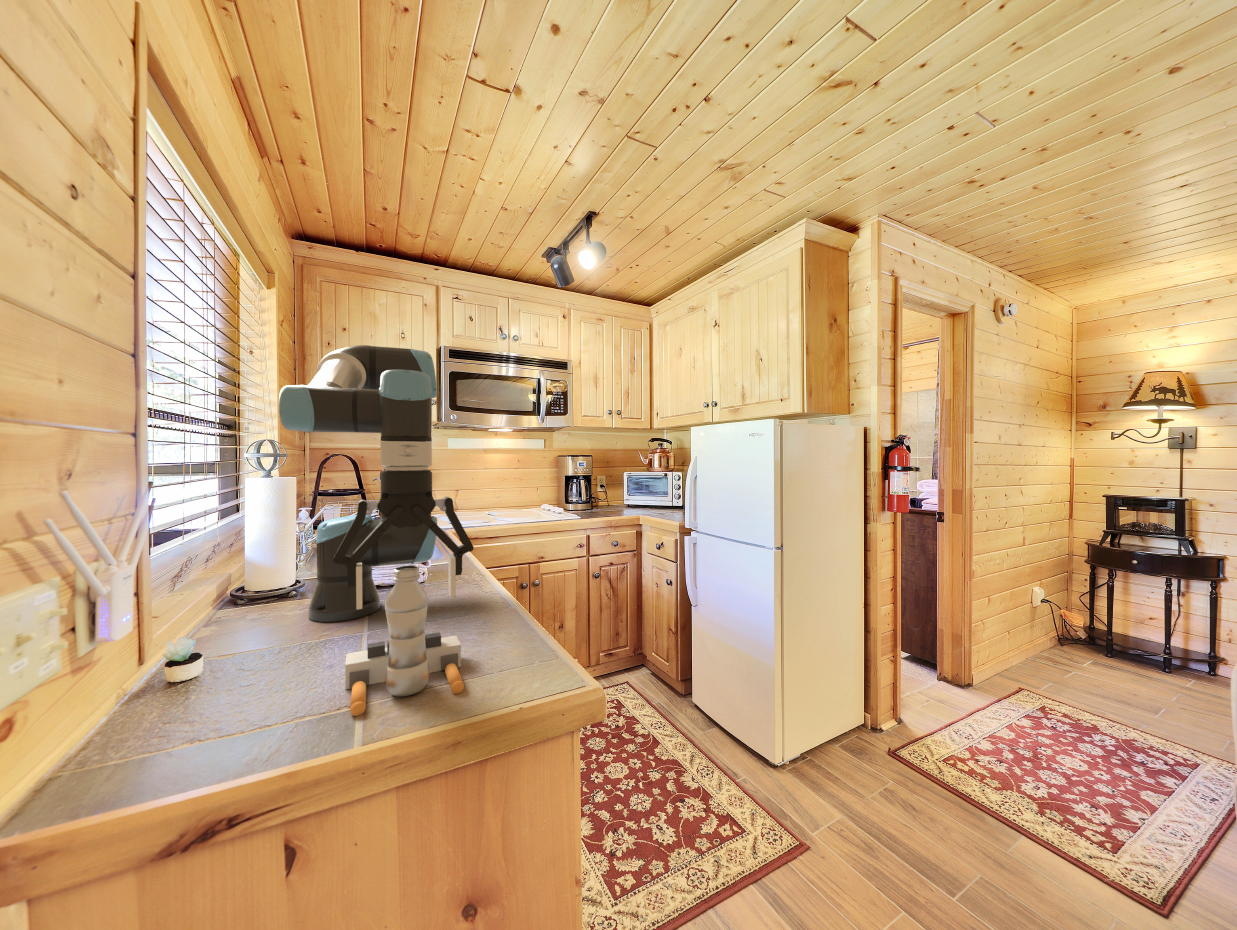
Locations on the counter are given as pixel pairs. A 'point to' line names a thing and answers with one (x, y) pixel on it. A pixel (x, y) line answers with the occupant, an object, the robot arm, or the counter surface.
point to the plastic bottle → (406, 633)
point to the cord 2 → (454, 678)
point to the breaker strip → (375, 659)
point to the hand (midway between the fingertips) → (407, 600)
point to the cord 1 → (358, 698)
